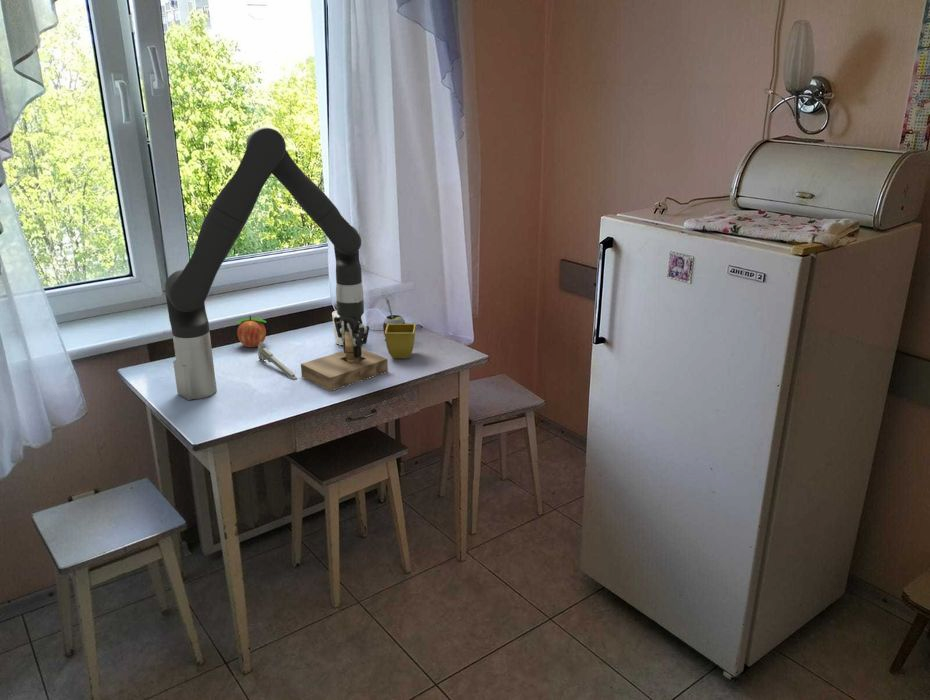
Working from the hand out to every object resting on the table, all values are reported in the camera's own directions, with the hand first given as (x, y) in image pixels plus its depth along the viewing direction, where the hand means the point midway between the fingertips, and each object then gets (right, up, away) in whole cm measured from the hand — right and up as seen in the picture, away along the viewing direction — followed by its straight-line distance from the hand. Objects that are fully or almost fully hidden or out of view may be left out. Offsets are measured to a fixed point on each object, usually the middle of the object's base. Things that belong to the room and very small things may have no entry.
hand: (352, 354), depth 216 cm
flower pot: (+13, -1, +14) cm, 19 cm away
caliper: (-22, -5, +3) cm, 23 cm away
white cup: (-6, +4, +24) cm, 25 cm away
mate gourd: (+9, +4, +26) cm, 28 cm away
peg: (0, -3, +1) cm, 3 cm away
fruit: (-35, +2, +21) cm, 41 cm away
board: (-2, -6, 0) cm, 6 cm away
